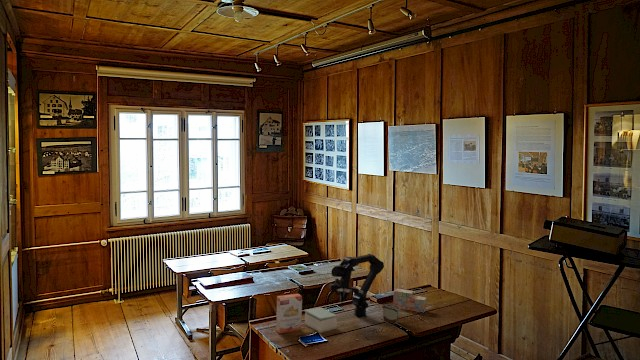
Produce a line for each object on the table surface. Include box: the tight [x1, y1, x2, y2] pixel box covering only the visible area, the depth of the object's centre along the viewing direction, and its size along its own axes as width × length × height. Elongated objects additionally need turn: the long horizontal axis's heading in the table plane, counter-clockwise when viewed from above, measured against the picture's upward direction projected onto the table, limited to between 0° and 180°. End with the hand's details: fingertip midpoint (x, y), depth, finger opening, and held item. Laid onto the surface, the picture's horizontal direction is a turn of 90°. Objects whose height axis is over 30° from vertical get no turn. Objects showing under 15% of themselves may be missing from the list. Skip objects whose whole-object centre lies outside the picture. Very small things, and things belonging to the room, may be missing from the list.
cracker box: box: [275, 293, 303, 334], centre depth 267 cm, size 14×6×21 cm, turn 116°
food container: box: [381, 303, 401, 325], centre depth 285 cm, size 12×6×10 cm, turn 47°
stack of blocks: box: [392, 288, 428, 314], centre depth 308 cm, size 21×6×12 cm, turn 62°
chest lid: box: [304, 307, 338, 320], centre depth 275 cm, size 12×16×1 cm
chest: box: [304, 312, 338, 334], centre depth 275 cm, size 12×16×7 cm
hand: (341, 302), depth 284 cm, fingers closed
